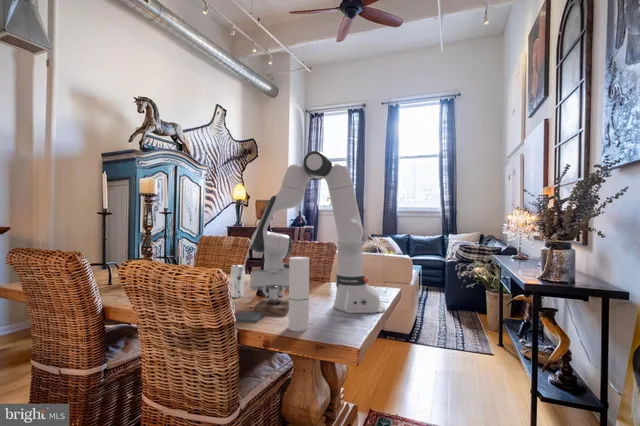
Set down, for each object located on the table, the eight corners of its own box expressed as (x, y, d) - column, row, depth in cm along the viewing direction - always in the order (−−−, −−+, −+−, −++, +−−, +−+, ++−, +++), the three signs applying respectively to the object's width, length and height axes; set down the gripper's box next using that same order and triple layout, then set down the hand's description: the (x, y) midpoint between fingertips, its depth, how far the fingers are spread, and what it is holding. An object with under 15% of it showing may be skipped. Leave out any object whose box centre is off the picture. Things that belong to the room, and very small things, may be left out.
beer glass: (227, 297, 151) (227, 266, 151) (236, 293, 158) (236, 264, 158) (239, 298, 149) (239, 267, 149) (247, 295, 155) (248, 265, 155)
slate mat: (263, 314, 125) (263, 312, 125) (256, 322, 116) (256, 319, 116) (241, 313, 126) (241, 311, 126) (233, 321, 117) (233, 318, 117)
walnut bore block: (291, 306, 138) (291, 299, 138) (285, 315, 125) (285, 308, 125) (263, 304, 139) (263, 298, 139) (254, 314, 126) (254, 306, 126)
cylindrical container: (309, 324, 115) (310, 256, 115) (307, 331, 108) (307, 259, 108) (290, 323, 116) (291, 256, 116) (286, 330, 108) (287, 259, 109)
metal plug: (279, 308, 134) (280, 284, 134) (277, 311, 130) (277, 287, 130) (269, 307, 134) (270, 284, 134) (267, 310, 130) (267, 287, 130)
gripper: (250, 266, 137) (248, 294, 128) (296, 265, 141) (298, 292, 131) (250, 274, 142) (248, 301, 132) (295, 273, 145) (297, 300, 135)
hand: (273, 297), depth 131 cm, fingers closed on metal plug, 4 cm apart
